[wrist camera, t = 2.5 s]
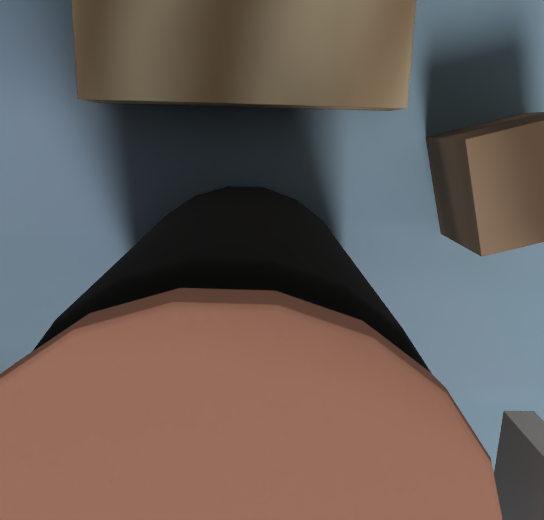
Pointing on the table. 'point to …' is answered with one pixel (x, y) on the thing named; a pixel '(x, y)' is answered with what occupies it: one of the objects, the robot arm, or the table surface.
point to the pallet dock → (245, 52)
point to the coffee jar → (235, 387)
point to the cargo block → (491, 183)
